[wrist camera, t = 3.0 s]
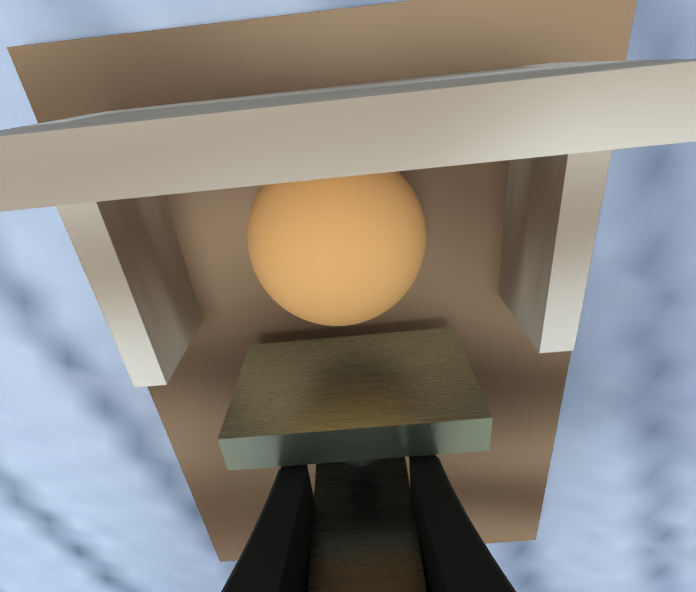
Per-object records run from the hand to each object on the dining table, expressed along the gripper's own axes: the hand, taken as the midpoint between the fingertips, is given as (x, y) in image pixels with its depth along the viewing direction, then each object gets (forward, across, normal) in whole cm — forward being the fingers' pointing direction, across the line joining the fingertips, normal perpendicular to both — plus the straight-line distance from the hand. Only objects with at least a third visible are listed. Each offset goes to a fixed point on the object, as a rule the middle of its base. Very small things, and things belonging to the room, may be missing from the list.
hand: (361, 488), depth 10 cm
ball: (+2, 0, -6) cm, 6 cm away
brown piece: (+5, 0, 0) cm, 5 cm away
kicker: (+3, 0, 0) cm, 3 cm away
